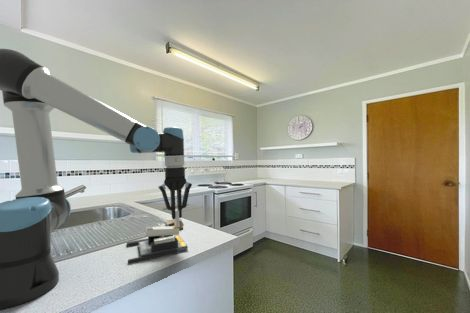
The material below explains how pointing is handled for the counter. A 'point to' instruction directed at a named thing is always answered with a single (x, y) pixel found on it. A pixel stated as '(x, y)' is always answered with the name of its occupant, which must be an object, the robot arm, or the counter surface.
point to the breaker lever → (161, 231)
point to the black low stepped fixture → (132, 243)
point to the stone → (173, 223)
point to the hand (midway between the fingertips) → (177, 226)
